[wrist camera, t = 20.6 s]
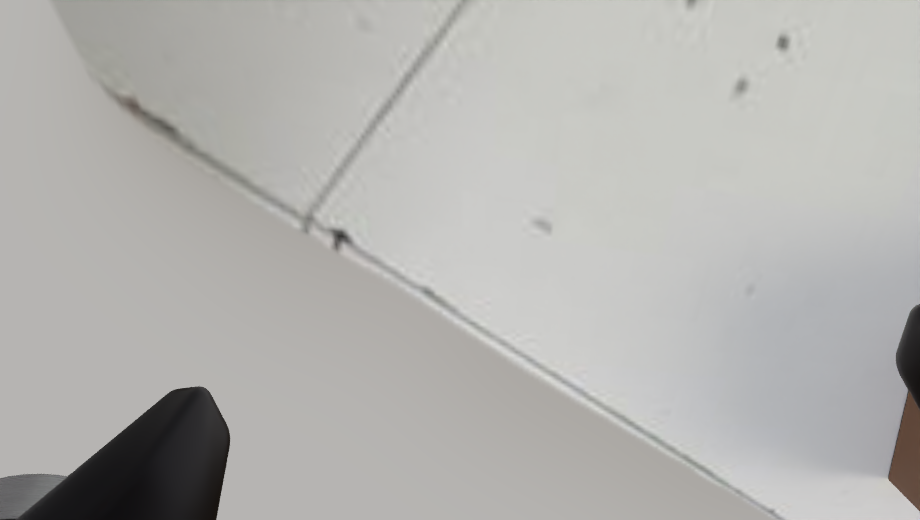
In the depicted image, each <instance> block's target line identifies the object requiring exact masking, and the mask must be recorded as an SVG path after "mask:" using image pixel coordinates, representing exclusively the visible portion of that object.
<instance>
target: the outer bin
mask: <svg viewBox="0 0 920 520" xmlns="http://www.w3.org/2000/svg"><path fill="white" fill-rule="evenodd" d="M888 479H889V481H890V482H891V483H892V484H893V485H894V486H895V487H896V488H897V489H898V490H899V491H900V492H901V493H902V494H903V495H904V496H905V497H906V498H907V499H908V500H909V501H910V502H911V503H912V504H913V505H914V506H915V507H916V508H917V509H918V510H919V511H920V410H919V408H918V406H917V405H916V403H915V401H914V399H913V397H912V396H911V394H910V392H908V397H907V401H906V405H905V409H904V414H903V418H902V422H901V427H900V431H899V435H898V439H897V444H896V448H895V452H894V457H893V461H892V465H891V469H890V474H889V478H888Z"/></svg>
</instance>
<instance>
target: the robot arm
mask: <svg viewBox="0 0 920 520" xmlns="http://www.w3.org/2000/svg"><path fill="white" fill-rule="evenodd" d="M896 364H897V368H898V371H899V374H900V376H901V378H902V379H903V381H904V383H905V385H906V387H907V388H908V390H909V392H910V394H911V396H912V397H913V399H914V401H915V403H916V405H917V406H918V408H919V410H920V304H919V305H916V306H915V307H914V308H913V309H912V310H911V312H910V314H909V316H908V319H907V322H906V325H905V328H904V331H903V334H902V337H901V340H900V343H899V346H898V349H897V353H896ZM229 446H230V434H229V429H228V427H227V424H226V422H225V420H224V418H223V417H222V415H221V413H220V411H219V409H218V407H217V405H216V403H215V401H214V399H213V397H212V395H211V394H210V392H209V391H208V390H207V389H206V388H204V387H190V388H182V389H176V390H173V391H171V392H169V393H168V394H167V395H166V396H165V397H163V398H162V399H161V400H160V401H158V402H157V403H156V404H155V405H153V406H152V407H151V408H150V409H149V410H147V411H146V412H145V413H144V414H143V415H141V416H140V417H139V418H138V419H137V420H135V421H134V422H133V423H132V424H131V425H129V426H128V427H127V428H126V429H125V430H123V431H122V432H121V433H120V434H118V435H117V436H116V437H115V438H114V439H112V440H111V441H110V442H109V443H108V444H106V445H105V446H104V447H103V448H102V449H100V450H99V451H98V452H97V453H95V454H94V455H93V456H92V457H91V458H89V459H88V460H87V461H86V462H85V463H83V464H82V465H81V466H80V467H79V468H77V469H76V470H75V471H74V472H73V473H71V474H70V475H69V476H68V477H66V478H65V479H64V480H63V481H62V482H60V483H59V484H58V485H57V486H56V487H54V488H53V489H52V490H51V491H50V492H48V493H47V494H46V495H45V496H44V497H42V498H41V499H40V500H39V501H37V502H36V503H35V504H34V505H33V506H31V507H30V508H29V509H28V510H27V511H25V512H24V513H23V514H22V515H21V516H19V517H18V518H17V519H16V520H216V518H217V511H218V507H219V501H220V496H221V490H222V485H223V479H224V474H225V468H226V463H227V457H228V452H229Z"/></svg>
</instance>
